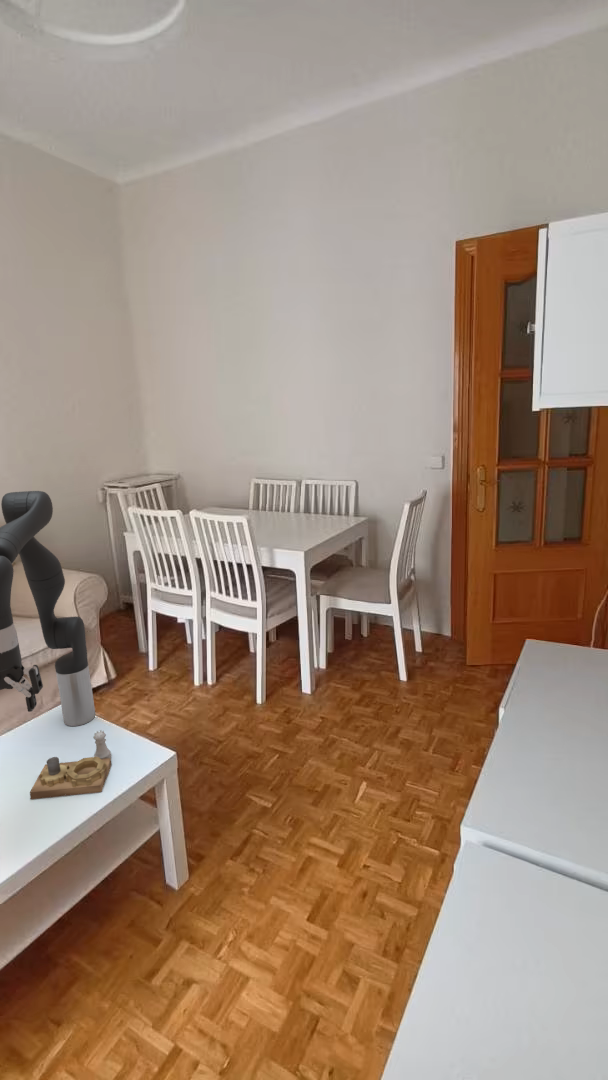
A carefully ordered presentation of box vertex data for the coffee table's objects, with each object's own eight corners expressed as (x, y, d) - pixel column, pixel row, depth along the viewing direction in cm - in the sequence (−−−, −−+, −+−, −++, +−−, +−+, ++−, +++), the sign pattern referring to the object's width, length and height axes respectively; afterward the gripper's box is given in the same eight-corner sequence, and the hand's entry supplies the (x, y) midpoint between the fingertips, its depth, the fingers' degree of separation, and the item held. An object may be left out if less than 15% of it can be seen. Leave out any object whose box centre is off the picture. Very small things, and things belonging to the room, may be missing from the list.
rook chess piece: (106, 764, 148) (102, 738, 146) (91, 763, 149) (87, 737, 147) (114, 754, 153) (111, 728, 151) (100, 753, 153) (96, 727, 152)
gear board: (46, 770, 147) (42, 747, 145) (112, 764, 148) (109, 741, 147) (30, 799, 136) (26, 774, 134) (101, 792, 138) (98, 767, 136)
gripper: (39, 635, 124) (50, 700, 128) (-28, 640, 122) (-14, 705, 126) (26, 650, 116) (38, 718, 120) (-45, 655, 115) (-30, 724, 119)
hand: (11, 711), depth 123 cm, fingers open, 8 cm apart
